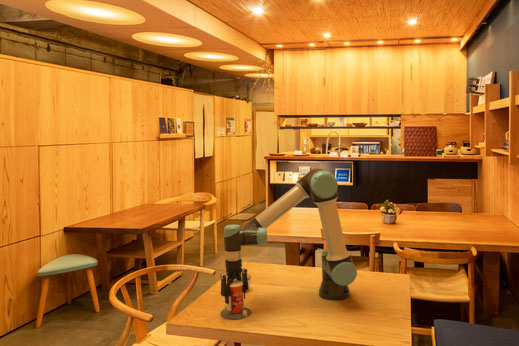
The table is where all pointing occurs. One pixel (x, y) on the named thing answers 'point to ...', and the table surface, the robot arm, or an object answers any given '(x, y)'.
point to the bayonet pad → (234, 316)
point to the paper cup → (236, 296)
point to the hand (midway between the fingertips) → (235, 307)
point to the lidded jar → (247, 278)
